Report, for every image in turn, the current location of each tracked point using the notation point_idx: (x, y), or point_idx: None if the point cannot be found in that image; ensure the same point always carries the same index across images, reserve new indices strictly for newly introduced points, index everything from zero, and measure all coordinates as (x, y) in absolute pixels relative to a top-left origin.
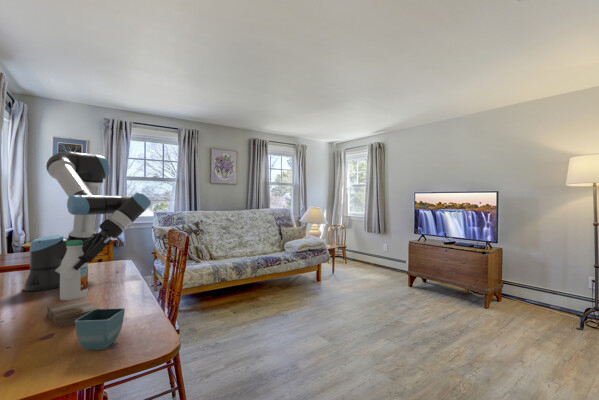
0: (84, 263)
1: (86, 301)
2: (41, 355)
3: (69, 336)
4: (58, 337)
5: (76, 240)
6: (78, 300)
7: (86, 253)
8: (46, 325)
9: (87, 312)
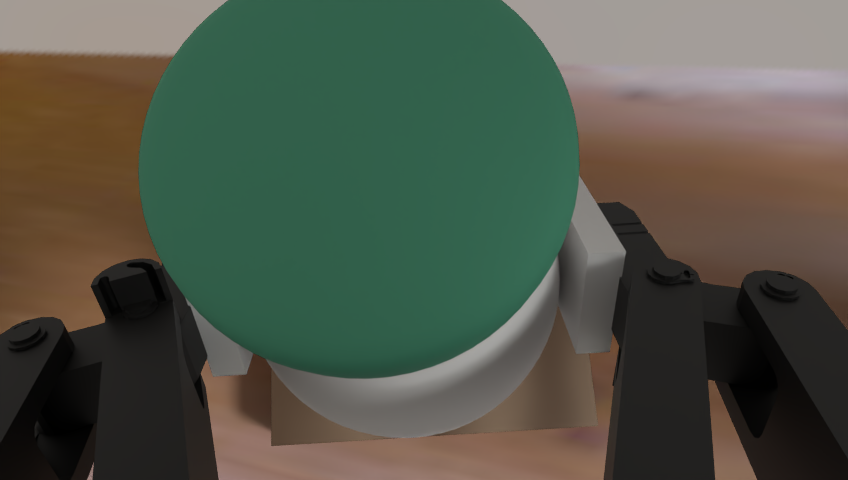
0: (213, 362)
1: (512, 417)
2: (14, 148)
3: (126, 260)
4: None
5: (339, 186)
6: (579, 379)
7: (105, 388)
8: None
9: (272, 372)
